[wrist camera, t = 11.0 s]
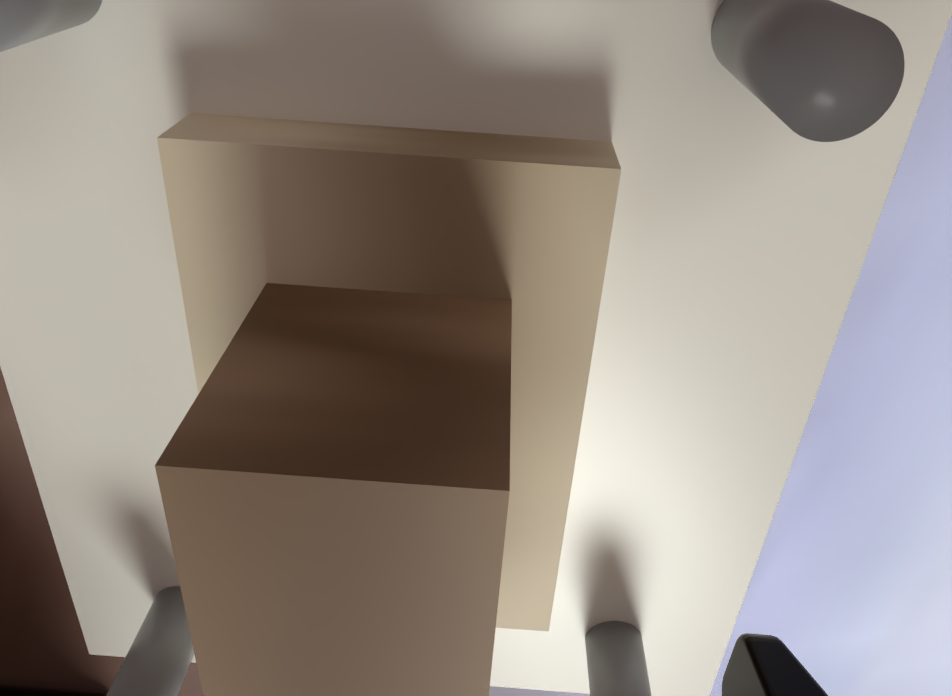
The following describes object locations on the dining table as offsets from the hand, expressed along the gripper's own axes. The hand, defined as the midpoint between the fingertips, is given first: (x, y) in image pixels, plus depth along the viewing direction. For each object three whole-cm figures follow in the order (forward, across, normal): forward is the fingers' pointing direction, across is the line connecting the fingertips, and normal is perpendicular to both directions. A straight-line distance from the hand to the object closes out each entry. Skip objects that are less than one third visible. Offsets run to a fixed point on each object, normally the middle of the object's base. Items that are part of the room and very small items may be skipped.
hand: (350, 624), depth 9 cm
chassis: (+6, 0, 0) cm, 7 cm away
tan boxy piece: (+5, 0, 0) cm, 5 cm away
